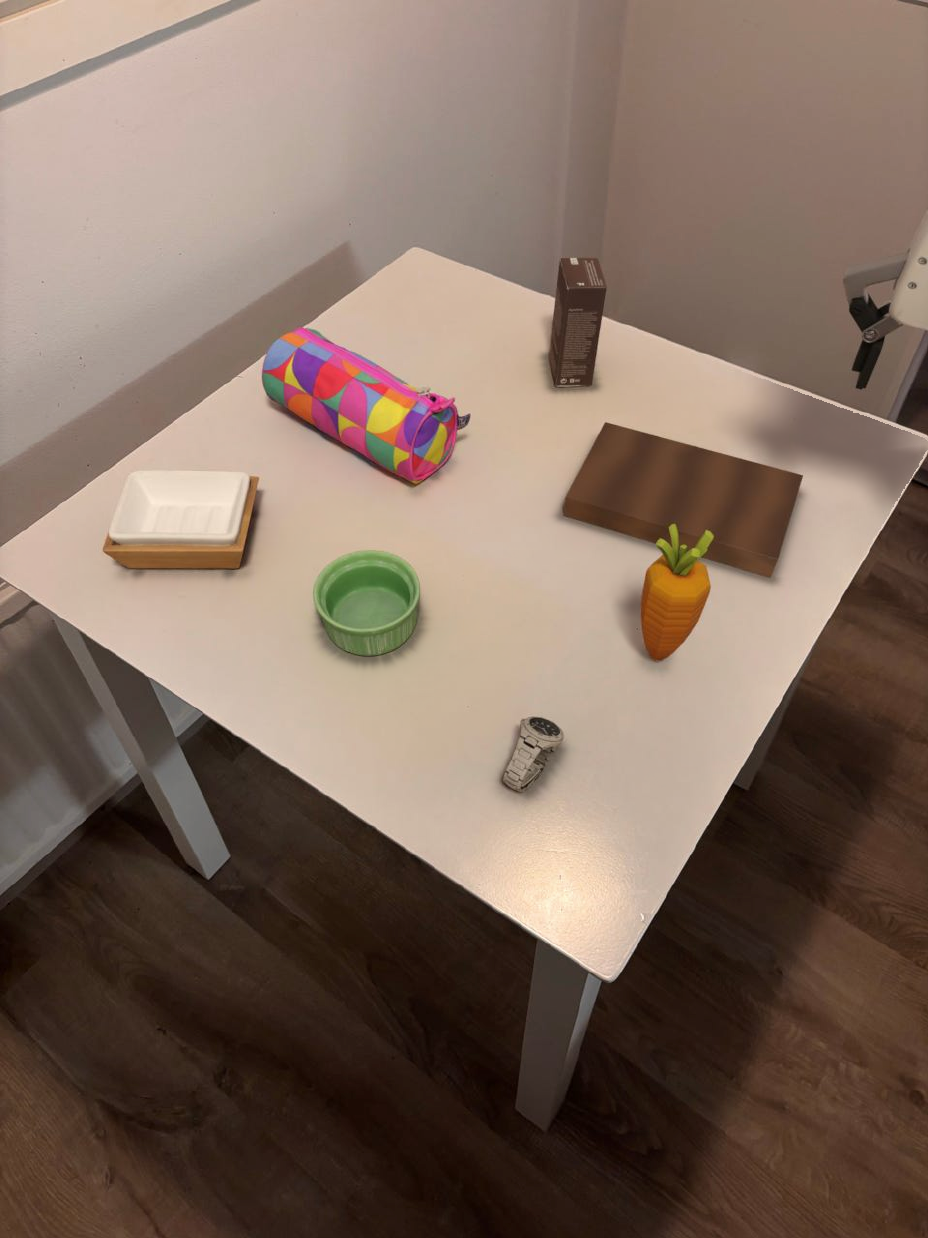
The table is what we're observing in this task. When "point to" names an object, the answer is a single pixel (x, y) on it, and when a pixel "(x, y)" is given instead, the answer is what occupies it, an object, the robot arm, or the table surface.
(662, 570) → the carrot
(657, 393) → the table surface
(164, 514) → the soap dish
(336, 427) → the pencil case
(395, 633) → the ramekin
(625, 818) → the table surface
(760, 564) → the cutting board
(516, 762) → the wristwatch
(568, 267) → the box
